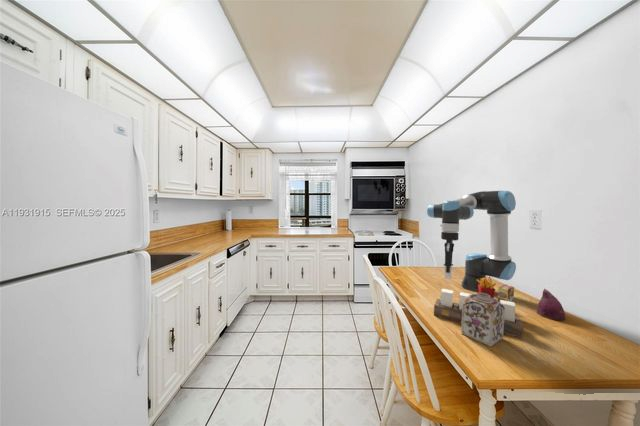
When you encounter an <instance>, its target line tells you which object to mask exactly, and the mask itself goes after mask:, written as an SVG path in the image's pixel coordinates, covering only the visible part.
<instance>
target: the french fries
mask: <svg viewBox="0 0 640 426" xmlns="http://www.w3.org/2000/svg"><path fill="white" fill-rule="evenodd" d="M487 277H488V279H487ZM487 277H485V278H484V279H483V278H482V279H481V278H480V280H481V281H479V280H478V279H477V280H476V281H478V282H479V283H480V284H478V288H479V292H478V293H485V294H488V295H490V297H491V298H494V299H495V292H496V288H494V287H495V286H496V285H497V283H495V282H493V280H492V277H491V276H487ZM484 281H485V284H484Z"/></svg>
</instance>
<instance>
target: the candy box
mask: <svg viewBox="0 0 640 426" xmlns="http://www.w3.org/2000/svg"><path fill="white" fill-rule="evenodd" d="M497 288H498V290H497V299H496V300H498V301H499V302H500V300H504V301H509V302H514V301H515V299H514V298H515V286H514V285H511V284H510V285H509V284H503V285H501V286H499V287H497Z"/></svg>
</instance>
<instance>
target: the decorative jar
mask: <svg viewBox="0 0 640 426" xmlns="http://www.w3.org/2000/svg"><path fill="white" fill-rule="evenodd" d="M470 294H471V293H470ZM504 313H505V308H504V306H503V305H502V304H501V303H500V302H499V301H498V300H497V299H496V298H495V297H494V298H491V297H490V295H488V294H485V293H479V292H477V293H476V294H471V295H469V296H467V298H466V299H465V301H464V302H463V308H462V322H461V326H460V327H461V329H460V331H461V334H462V335H464V336H466V337H468V338H471V339H472V340H475V341H477V342H480V343H482V344H484V345H485V346H489V347H493V346H494V345H495V344H497V343H498V342H499V341H501V340H503V339H504V333H503V332H504Z"/></svg>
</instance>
